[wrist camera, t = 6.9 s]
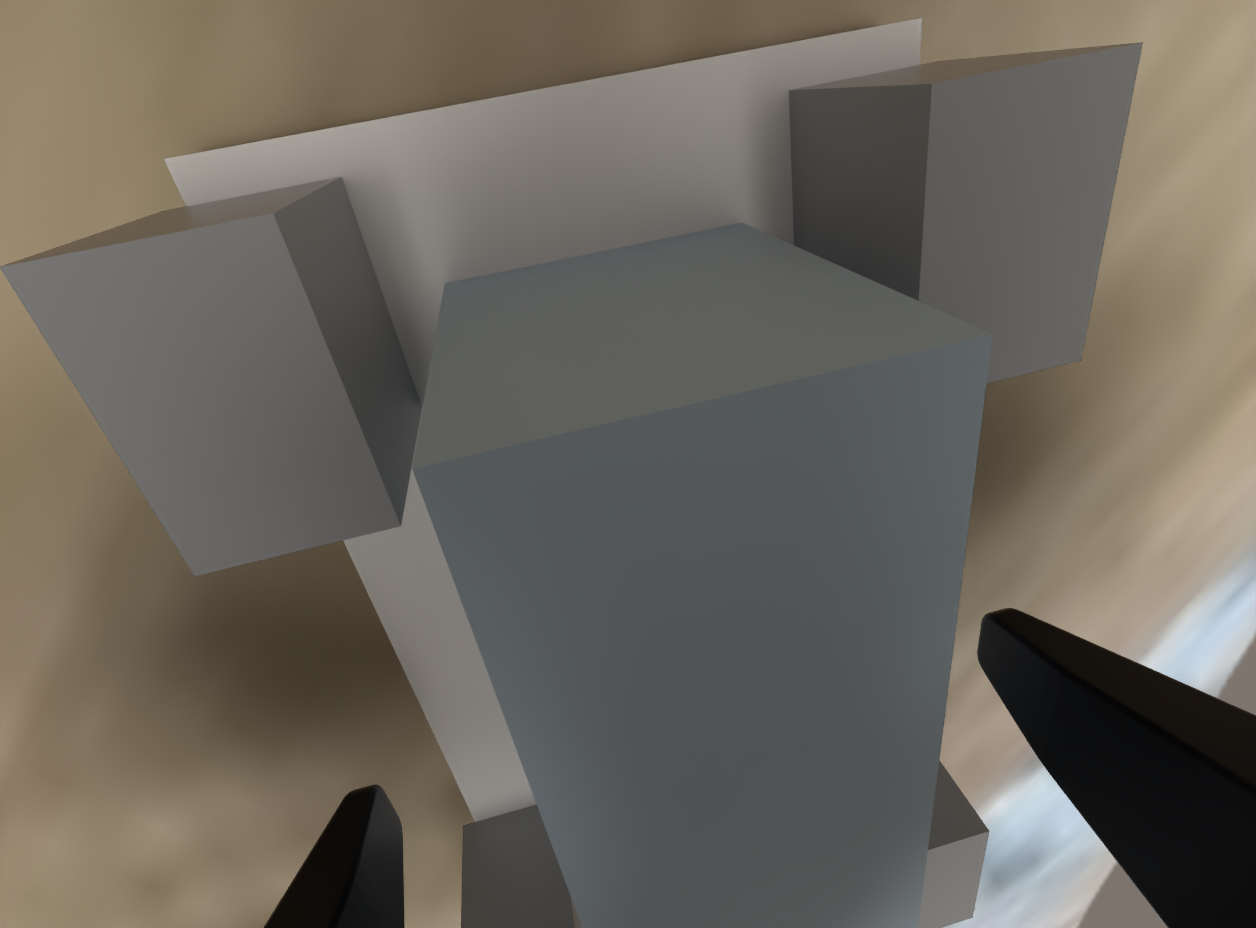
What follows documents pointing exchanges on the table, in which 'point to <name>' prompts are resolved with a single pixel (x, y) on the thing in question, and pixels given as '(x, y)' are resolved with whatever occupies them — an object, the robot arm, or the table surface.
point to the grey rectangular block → (712, 567)
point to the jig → (534, 234)
